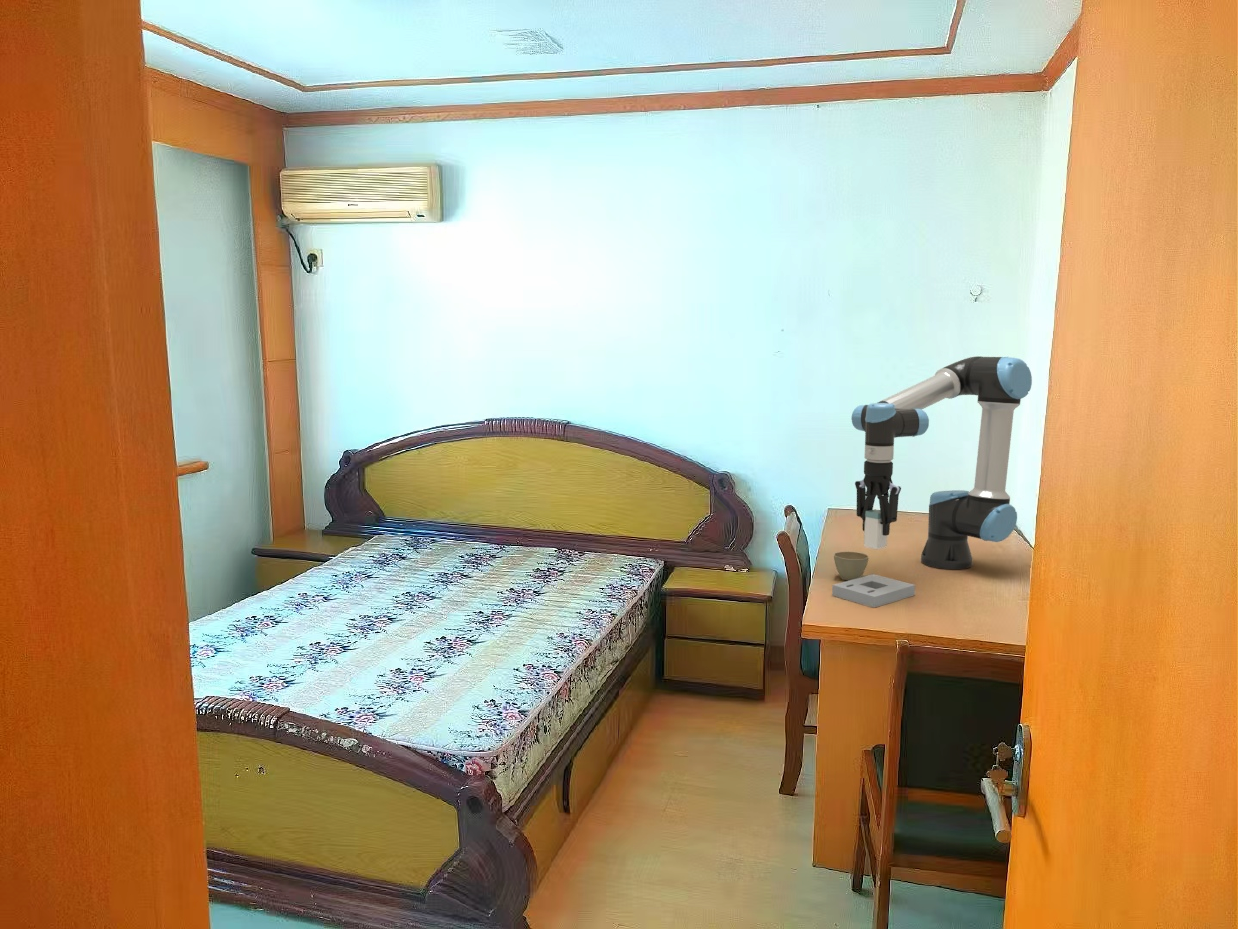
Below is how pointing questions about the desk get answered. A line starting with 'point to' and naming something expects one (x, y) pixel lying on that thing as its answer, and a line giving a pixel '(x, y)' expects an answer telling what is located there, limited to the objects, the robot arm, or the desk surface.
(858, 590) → the outlet plate
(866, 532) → the block
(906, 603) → the desk surface
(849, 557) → the flower pot
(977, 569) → the desk surface
